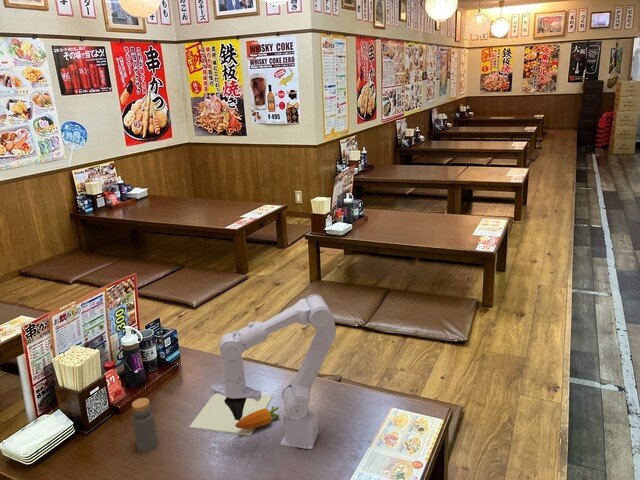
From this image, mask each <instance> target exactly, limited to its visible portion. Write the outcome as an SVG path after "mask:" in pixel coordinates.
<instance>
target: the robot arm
mask: <svg viewBox="0 0 640 480" xmlns="http://www.w3.org/2000/svg"><path fill="white" fill-rule="evenodd" d="M335 318H336V317H335V316H334V315H333V313H332V311H331V309H330V307H329V306H328V304H327V302H326V301H325V299H324V298H323V297H322V296H321V295H320V294H318V293H317V294H310V295H308V296H307V297H306V298H302V299H299V300H298V301H297V302H296V303H295V304H293V305H292V306H290V307H288V308H286V309H285V310H283V311H281V312H280V313H278V314H276V315H273V317H270V318H269V319H267V320H266V321H250V322H248V325H246V326H245V327H243V328H241V329H237V330H234V331H232V332H228V333H224V334H222V336H221V338H220V339H219V342H218V345H219V353H220V355H221V368H222V376H223V382H224V383H223V384H213V385H212V386H211V387H210V392H211V393H210V394H211V395H215V394H216V393H217V394H222V395H224V396H226V399H225V400H224V402H225V404H226V405H227V406H228V407H229V408H230V410H231V412H232V414H233V416H234V418H235V420H240V419H241V418H242V415H243V408H244V405H245V402H246V399H247V398H250V399H255V401H259V400H260V399H261V395H262V391H261V390H257V389H254V388H252V387H250V386H247V385H246V376H245V369H244V368H245V366H244V359H243V357H242V355H243V353H245V352H246V351H248V350H249V349H251V348H253V347H256V346H258V345H259V344H261V343H263V342H265V341H267V340H268V338H269V335H270V334H272V333H274V332H276V331H279V330H281V329H283V328H287V327H289V326H290V325H293V324H296V323H297V324H301V325H303V326H305V327H308V325H309V324H310V325H311V326H312V327H313V328H314V329H316V332H315V334H314V337H313V338H312V341H311V343H310V345H309V347H308V350H307V351H306V353H305V356H304V358H303V361H302V362H301V365H300V366H299V369H298V371H297V374H296V375H295V377H294V378H292V379H290V381H289V383H288V384H287V385H286V386H285V387H284V388H283V389H282V391H281V398H282V400H283V405H284V408H283V411H282V417H283V427H284V429H283V430H284V435H283V437H282V439H281V442H280V445H281V446H285V447H294V448H297V449H298V448H300V449H306V450H313V448H314V446H315V443H316V441H317V437H318V436H319V435H318V434H319V432H320V431H319V429H318V428H319V427H318V426H319V425H318V415H317V413H316V412H313V411H310V410H309V405H310V404H309V403H310V402H311V396H312V395H311V393H312V387H313V385H314V383H315V381H316V379H317V376H318V374H319V373H320V370H321V367H322V366H323V363H324V361H325V359H326V358H327V357H326V356H327V355H328V353H329V351H330V348H331V346H332V344H333V342H334V340H335V338H336V335H337V331H336V330H337V329H336V323H335ZM308 323H309V324H308Z"/></svg>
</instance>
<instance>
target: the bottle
mask: <svg viewBox="0 0 640 480" xmlns="http://www.w3.org/2000/svg"><path fill="white" fill-rule="evenodd" d="M131 406H132V409H131V412H132V418H131V419H132V424H133V429H134V437H135V441H136V443H135V444H136V447H137V450H138V451H139V452H140V453H149V452H152V451H154V450H155V449H157V448H158V446H159V438H158V432H157V426H156V420H155V415H154V412H153V410H152V405H151V404H150V400H149V398H147V397H142V398H141V397H140V398H137V399H135V400H134V401H132V403H131Z"/></svg>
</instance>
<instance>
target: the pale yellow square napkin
mask: <svg viewBox="0 0 640 480" xmlns="http://www.w3.org/2000/svg"><path fill="white" fill-rule="evenodd" d="M225 399H226V396H224V395H222V394H217V393H216V394H215V395H214V394H212V396H211V397H210V399H209V400H208V401H207V403H206V404H205V405H204V406H203V408H202V409H201V410H200V412H199V413H198V414H197V416H196V417H195V418H194V420H193V421H192V422H191V424H190V425H189V426H188V427H189V428H190V429H197V430H202V431H209V432H210V431H211V432H217V433H225V434H232V435H239V436H249V437H251V436H252V434H253V433H254V431H255V429H256V428H249V429H241V428H237V427H235V425H236V423H237V422H238V421H239V420H235V418H234V416H233V414H232V412H231V410H230V408H229V407H228V406H227V405H226V404H225V402H224V400H225ZM272 399H273V395H269V394H261V399H260V400H259V401H255V399H250V398H247V399H246V402H245V405H244V408H243V415H242V418H243V417H245V416H247V415H249V414H251V413H253V412H256V411H258V410H261V409H264V408H267V409H268V406H269V404H270V402H271V401H272ZM242 418H241V419H242ZM241 419H240V420H241Z"/></svg>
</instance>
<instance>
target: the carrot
mask: <svg viewBox="0 0 640 480" xmlns="http://www.w3.org/2000/svg"><path fill="white" fill-rule="evenodd" d="M279 409H280V408H279V406H277V407H276V408H275V407H274V405H273V406H272V405H271V410H269V409H268V407H267V408H264V409H261V410H258V411H256V412H253V413H251V414H249V415H247V416H245V417H243V418H242V419H241V420H239V421H238V422H237V423H236V425H235V427H237V428H241V429H249V428H255V429H256V428H258V427H259V428H260V427H261V426H262V427H263V426H265V425H268V424H270V423H271V422H272V418H278V417H280V414H279V413H275V412H276V411H278V410H279Z"/></svg>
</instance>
